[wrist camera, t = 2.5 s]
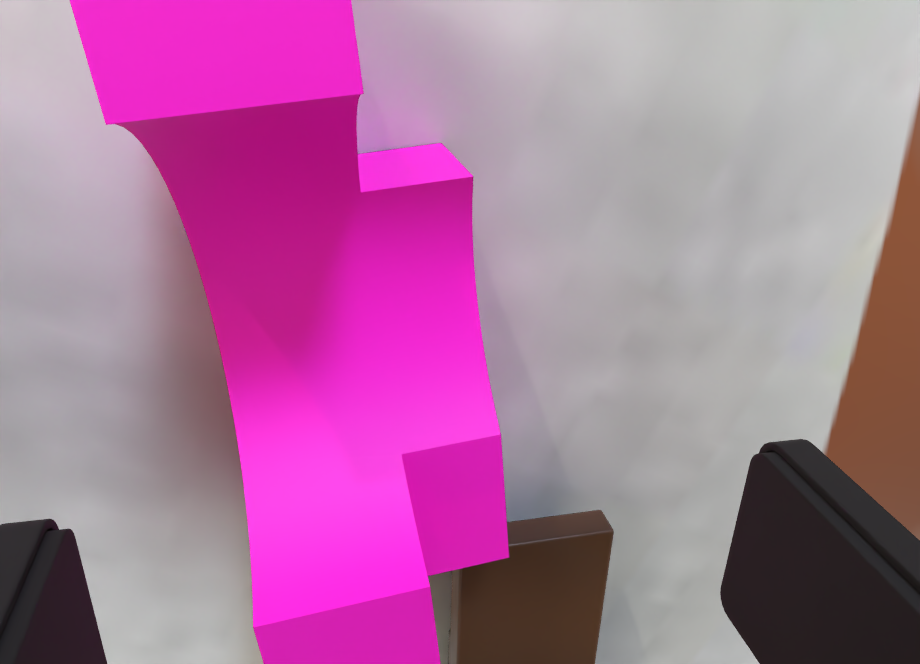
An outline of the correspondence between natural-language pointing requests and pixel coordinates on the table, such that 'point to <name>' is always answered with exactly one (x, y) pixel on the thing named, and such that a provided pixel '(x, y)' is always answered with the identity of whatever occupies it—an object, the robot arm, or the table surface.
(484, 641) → the brown rectangular block
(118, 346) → the table surface
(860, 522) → the robot arm
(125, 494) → the table surface
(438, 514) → the toy block
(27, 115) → the table surface
